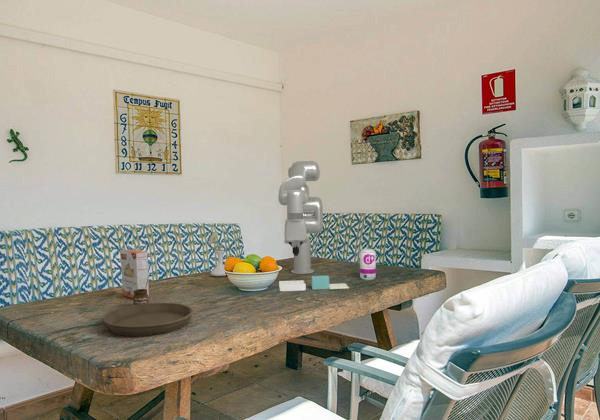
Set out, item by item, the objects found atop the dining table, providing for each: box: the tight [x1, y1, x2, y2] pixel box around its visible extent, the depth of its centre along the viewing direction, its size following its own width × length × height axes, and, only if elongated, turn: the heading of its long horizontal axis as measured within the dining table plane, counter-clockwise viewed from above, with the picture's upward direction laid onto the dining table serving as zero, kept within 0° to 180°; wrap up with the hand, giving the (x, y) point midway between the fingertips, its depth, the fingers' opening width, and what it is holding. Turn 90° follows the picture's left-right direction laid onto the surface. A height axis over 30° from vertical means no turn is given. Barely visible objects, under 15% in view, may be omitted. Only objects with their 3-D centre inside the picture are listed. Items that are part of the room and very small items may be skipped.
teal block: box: [310, 275, 330, 290], centre depth 230 cm, size 5×8×6 cm, turn 94°
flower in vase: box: [208, 231, 227, 277], centre depth 265 cm, size 13×11×25 cm
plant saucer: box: [101, 302, 194, 337], centre depth 172 cm, size 31×31×5 cm
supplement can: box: [359, 248, 377, 281], centre depth 251 cm, size 8×8×15 cm
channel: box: [278, 279, 307, 292], centre depth 229 cm, size 9×12×3 cm
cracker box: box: [120, 249, 150, 299], centre depth 216 cm, size 14×6×21 cm, turn 47°
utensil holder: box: [132, 276, 150, 305], centre depth 198 cm, size 6×6×12 cm
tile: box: [329, 282, 350, 290], centre depth 232 cm, size 9×9×1 cm
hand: (295, 255), depth 229 cm, fingers closed
